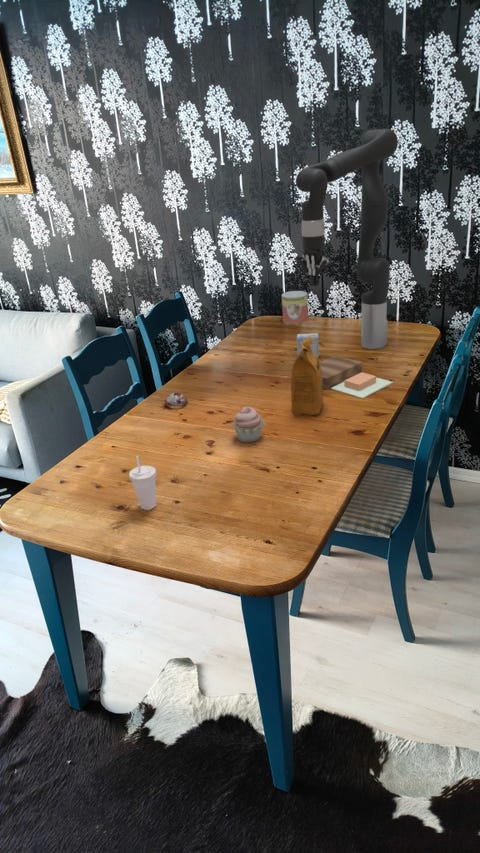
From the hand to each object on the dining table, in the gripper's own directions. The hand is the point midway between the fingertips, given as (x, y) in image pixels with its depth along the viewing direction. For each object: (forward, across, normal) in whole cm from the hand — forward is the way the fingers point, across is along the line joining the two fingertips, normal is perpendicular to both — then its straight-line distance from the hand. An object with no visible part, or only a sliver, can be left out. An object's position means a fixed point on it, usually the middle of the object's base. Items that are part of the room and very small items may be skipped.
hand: (314, 285), depth 213 cm
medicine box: (+29, +8, -4) cm, 31 cm away
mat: (+29, -25, +6) cm, 39 cm away
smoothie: (+29, -30, +95) cm, 104 cm away
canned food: (+29, +44, -35) cm, 63 cm away
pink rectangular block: (+26, -24, +6) cm, 36 cm away
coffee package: (+29, -23, +30) cm, 48 cm away
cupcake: (+29, -23, +55) cm, 66 cm away
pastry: (+29, +14, +54) cm, 63 cm away
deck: (+29, -12, +6) cm, 32 cm away
